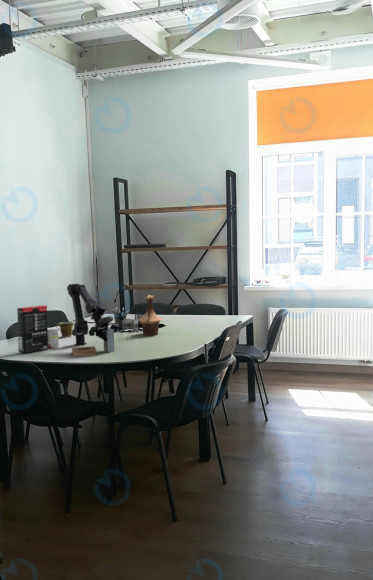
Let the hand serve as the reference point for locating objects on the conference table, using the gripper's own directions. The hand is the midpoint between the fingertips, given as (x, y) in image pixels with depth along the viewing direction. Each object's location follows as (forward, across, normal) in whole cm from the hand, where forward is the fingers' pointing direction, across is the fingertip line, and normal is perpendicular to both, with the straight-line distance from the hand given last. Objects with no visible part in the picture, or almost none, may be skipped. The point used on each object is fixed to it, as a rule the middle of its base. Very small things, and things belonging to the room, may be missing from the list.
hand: (110, 340), depth 293 cm
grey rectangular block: (+4, 0, +6) cm, 7 cm away
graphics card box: (-22, -30, +31) cm, 49 cm away
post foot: (0, -14, +9) cm, 17 cm away
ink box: (-25, -17, +34) cm, 45 cm away
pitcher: (-18, +54, +27) cm, 63 cm away
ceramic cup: (-45, +8, +55) cm, 72 cm away
